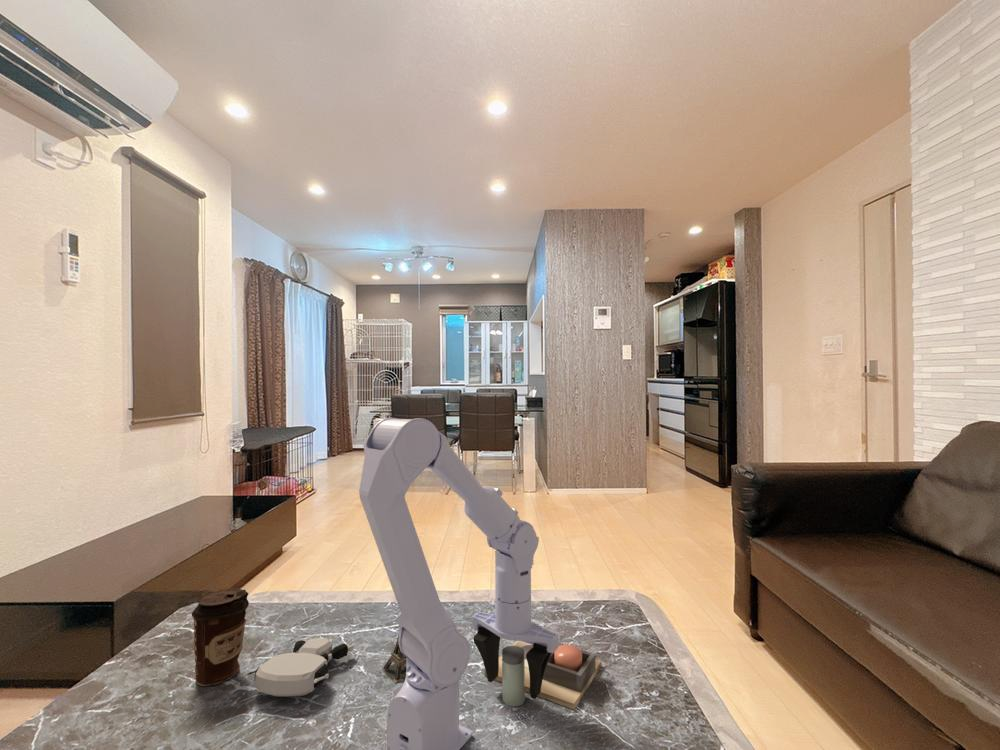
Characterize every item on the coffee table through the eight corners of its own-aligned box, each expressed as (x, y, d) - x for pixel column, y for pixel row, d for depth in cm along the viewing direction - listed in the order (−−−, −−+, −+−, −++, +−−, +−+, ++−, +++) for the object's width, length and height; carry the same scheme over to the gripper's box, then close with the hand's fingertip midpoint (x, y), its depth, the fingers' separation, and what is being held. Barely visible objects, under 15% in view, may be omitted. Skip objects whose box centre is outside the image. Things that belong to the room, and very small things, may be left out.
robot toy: (296, 656, 80) (236, 704, 65) (298, 630, 81) (239, 671, 66) (358, 661, 78) (311, 711, 64) (359, 635, 79) (313, 678, 64)
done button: (576, 676, 68) (576, 663, 69) (550, 667, 71) (549, 654, 71) (586, 661, 72) (586, 649, 73) (561, 654, 75) (560, 642, 75)
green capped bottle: (518, 709, 64) (517, 660, 65) (498, 701, 66) (498, 653, 67) (528, 696, 67) (528, 649, 68) (509, 688, 69) (509, 643, 70)
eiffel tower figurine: (422, 704, 66) (423, 614, 67) (358, 702, 67) (360, 612, 68) (441, 651, 81) (442, 577, 82) (389, 649, 82) (390, 576, 83)
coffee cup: (259, 665, 76) (262, 589, 77) (216, 695, 68) (221, 609, 69) (220, 657, 78) (224, 583, 79) (175, 685, 70) (180, 603, 71)
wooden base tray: (574, 709, 64) (573, 686, 64) (484, 676, 72) (484, 655, 73) (601, 665, 75) (600, 646, 75) (521, 640, 83) (521, 623, 84)
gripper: (565, 596, 68) (566, 687, 66) (488, 578, 75) (488, 659, 74) (546, 614, 62) (547, 715, 60) (464, 593, 69) (464, 682, 68)
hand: (513, 686), depth 67 cm, fingers open, 7 cm apart
